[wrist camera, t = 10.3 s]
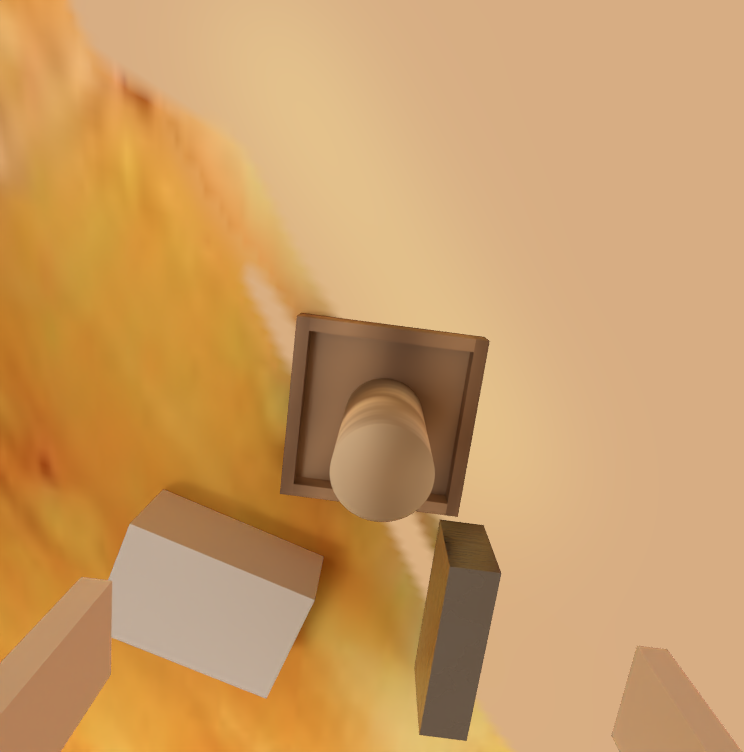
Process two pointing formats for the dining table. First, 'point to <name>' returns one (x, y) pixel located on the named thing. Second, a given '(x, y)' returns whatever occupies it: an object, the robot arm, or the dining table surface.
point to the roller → (382, 453)
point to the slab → (211, 592)
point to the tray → (372, 361)
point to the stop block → (455, 629)
